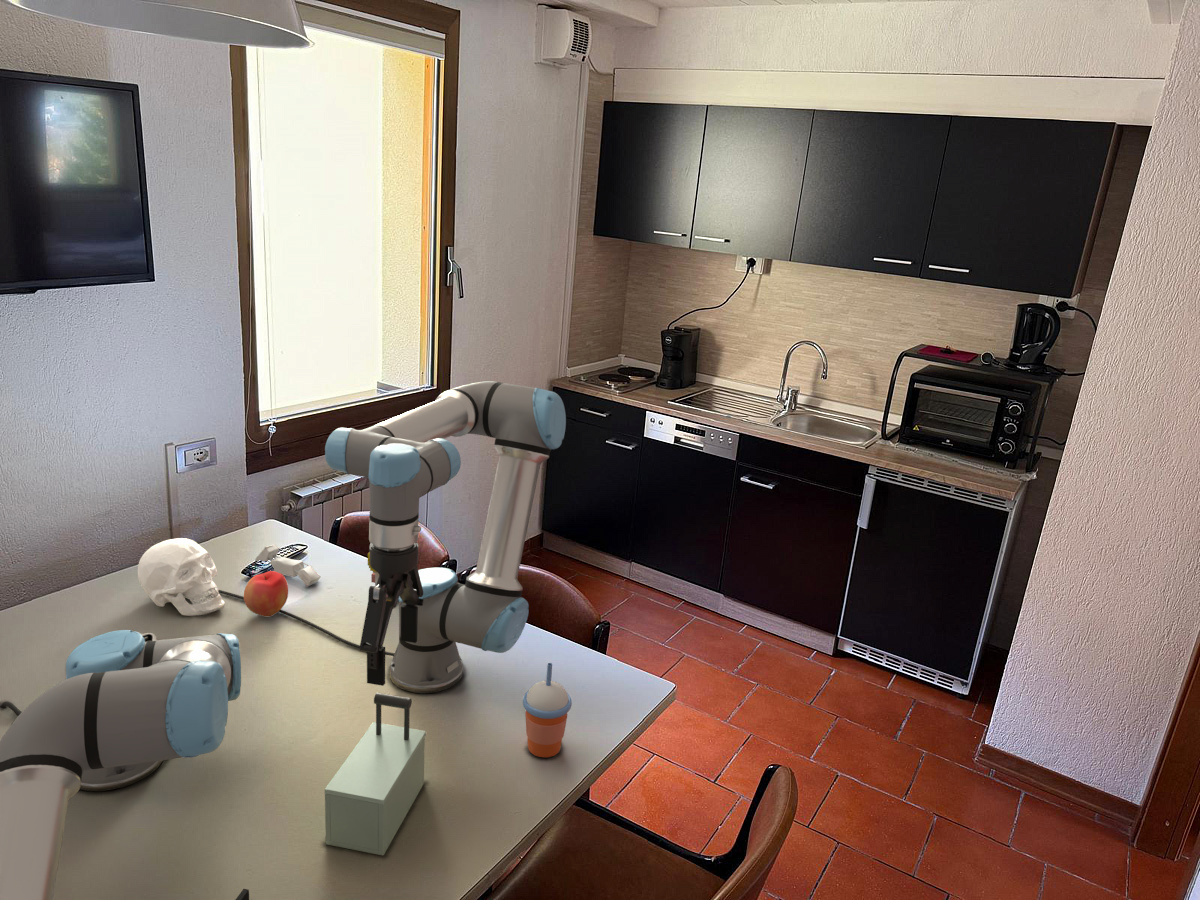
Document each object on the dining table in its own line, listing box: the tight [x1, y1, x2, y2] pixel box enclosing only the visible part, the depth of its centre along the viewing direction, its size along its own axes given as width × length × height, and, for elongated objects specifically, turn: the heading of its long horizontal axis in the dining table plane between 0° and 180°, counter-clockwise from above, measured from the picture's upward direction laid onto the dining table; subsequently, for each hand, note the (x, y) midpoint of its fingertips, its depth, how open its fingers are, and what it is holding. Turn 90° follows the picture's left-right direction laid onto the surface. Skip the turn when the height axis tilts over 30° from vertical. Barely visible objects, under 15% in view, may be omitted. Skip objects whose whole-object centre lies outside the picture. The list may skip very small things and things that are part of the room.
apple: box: [243, 570, 289, 618], centre depth 199 cm, size 10×10×10 cm
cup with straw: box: [522, 662, 573, 758], centre depth 159 cm, size 9×9×18 cm
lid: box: [324, 692, 427, 804], centre depth 138 cm, size 18×10×9 cm, turn 170°
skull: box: [137, 537, 226, 617], centre depth 200 cm, size 13×22×16 cm, turn 73°
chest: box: [324, 736, 426, 856], centre depth 141 cm, size 17×10×10 cm, turn 170°
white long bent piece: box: [254, 544, 322, 587], centre depth 219 cm, size 20×4×7 cm, turn 62°
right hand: (393, 661), depth 141 cm, fingers open, 13 cm apart
